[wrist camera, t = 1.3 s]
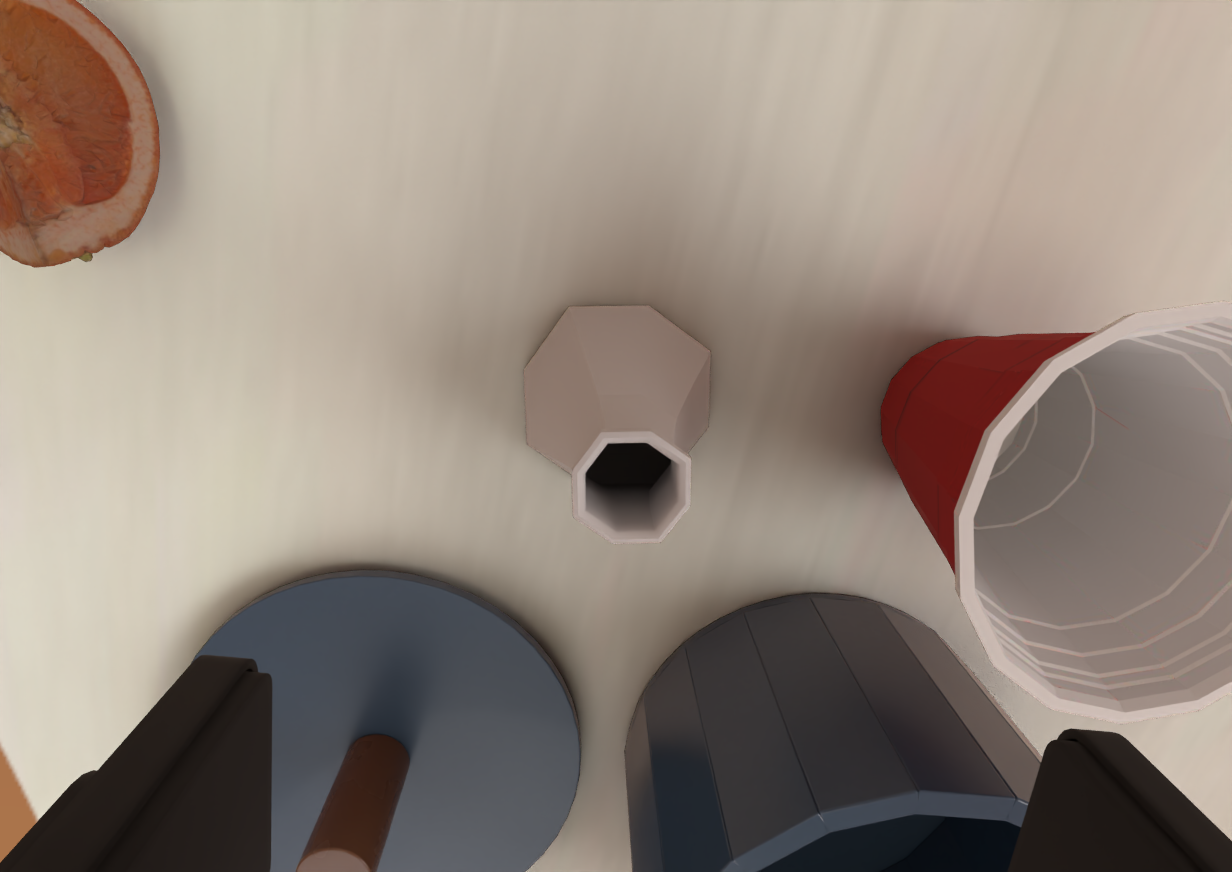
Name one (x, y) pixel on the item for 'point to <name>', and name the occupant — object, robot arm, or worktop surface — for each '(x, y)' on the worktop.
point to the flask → (620, 416)
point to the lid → (406, 726)
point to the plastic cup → (1083, 503)
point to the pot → (823, 749)
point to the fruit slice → (70, 134)
